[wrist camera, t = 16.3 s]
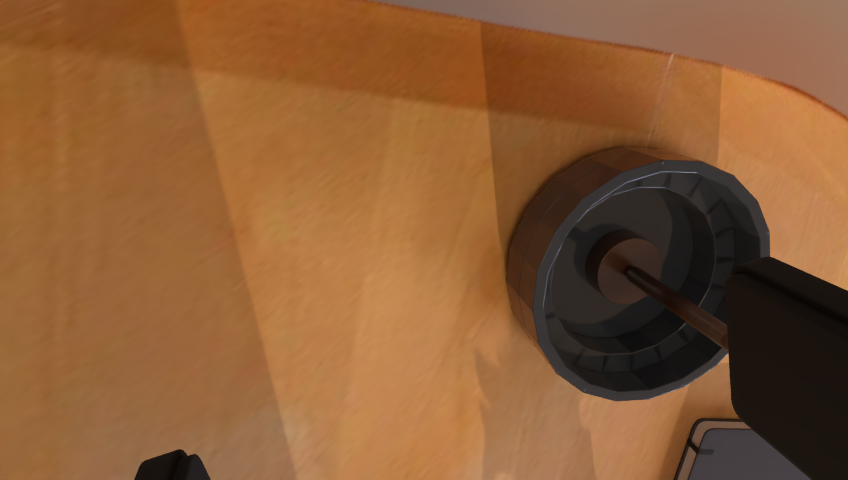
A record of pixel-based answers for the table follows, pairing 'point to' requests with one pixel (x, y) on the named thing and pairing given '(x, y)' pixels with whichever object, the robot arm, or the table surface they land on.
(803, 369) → the robot arm
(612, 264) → the plunger
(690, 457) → the notebook
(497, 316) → the table surface
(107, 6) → the table surface
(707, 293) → the bowl
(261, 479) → the table surface
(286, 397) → the table surface
